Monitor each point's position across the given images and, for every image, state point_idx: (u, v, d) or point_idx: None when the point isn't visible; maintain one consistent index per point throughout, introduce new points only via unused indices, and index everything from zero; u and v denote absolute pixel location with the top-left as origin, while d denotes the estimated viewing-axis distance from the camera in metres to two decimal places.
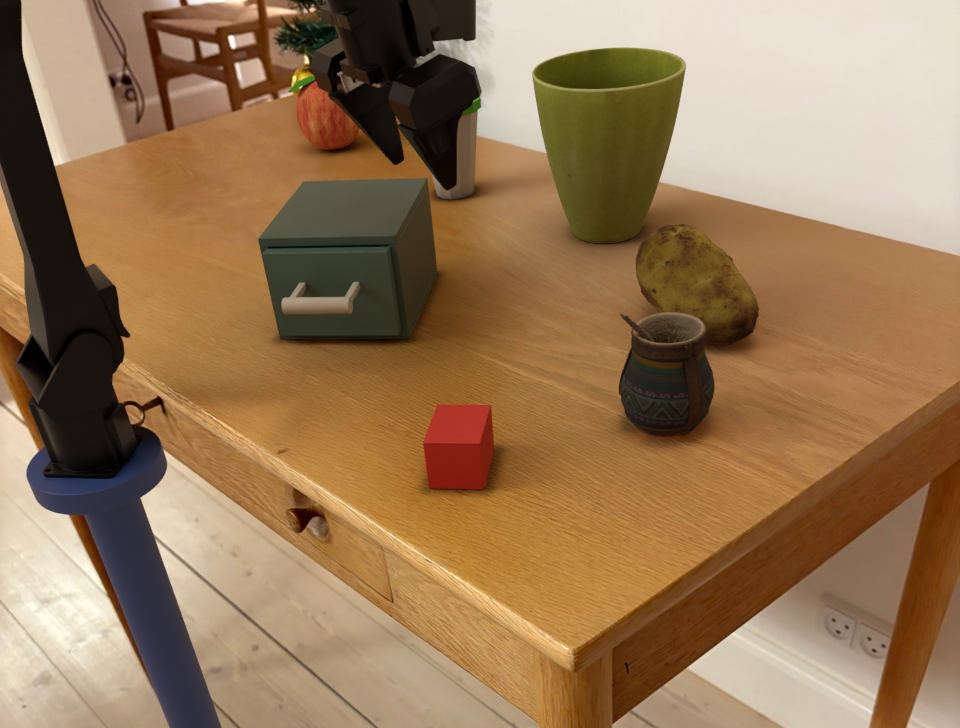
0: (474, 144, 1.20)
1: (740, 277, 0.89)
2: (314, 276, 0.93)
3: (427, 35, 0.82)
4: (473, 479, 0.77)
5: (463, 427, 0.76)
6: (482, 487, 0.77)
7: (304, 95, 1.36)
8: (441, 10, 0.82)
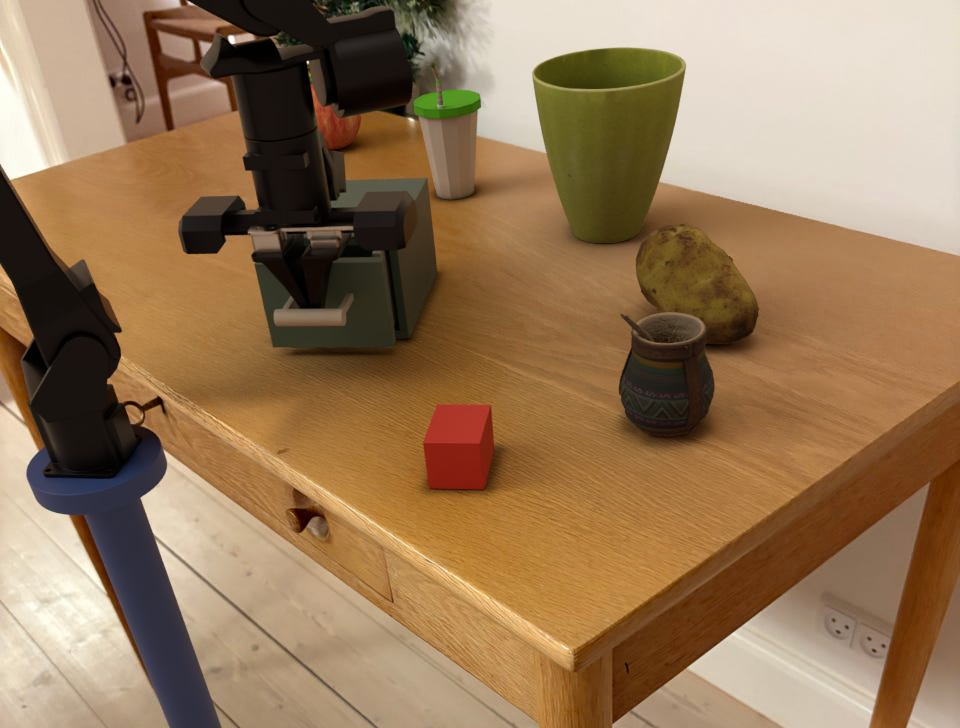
0: (474, 144, 1.20)
1: (740, 277, 0.89)
2: None
3: (337, 181, 0.85)
4: (473, 479, 0.77)
5: (463, 427, 0.76)
6: (482, 487, 0.77)
7: None
8: (335, 161, 0.86)
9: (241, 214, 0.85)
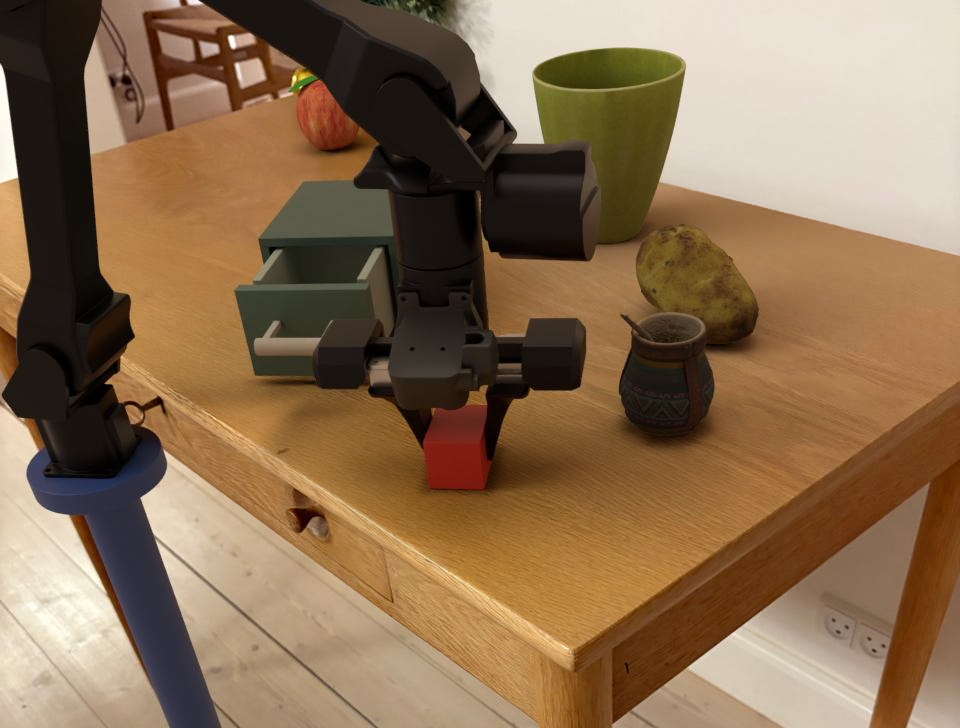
0: None
1: (740, 277, 0.89)
2: (289, 314, 0.87)
3: None
4: (473, 479, 0.77)
5: (463, 427, 0.76)
6: (482, 487, 0.77)
7: (304, 95, 1.36)
8: None
9: (513, 337, 0.72)
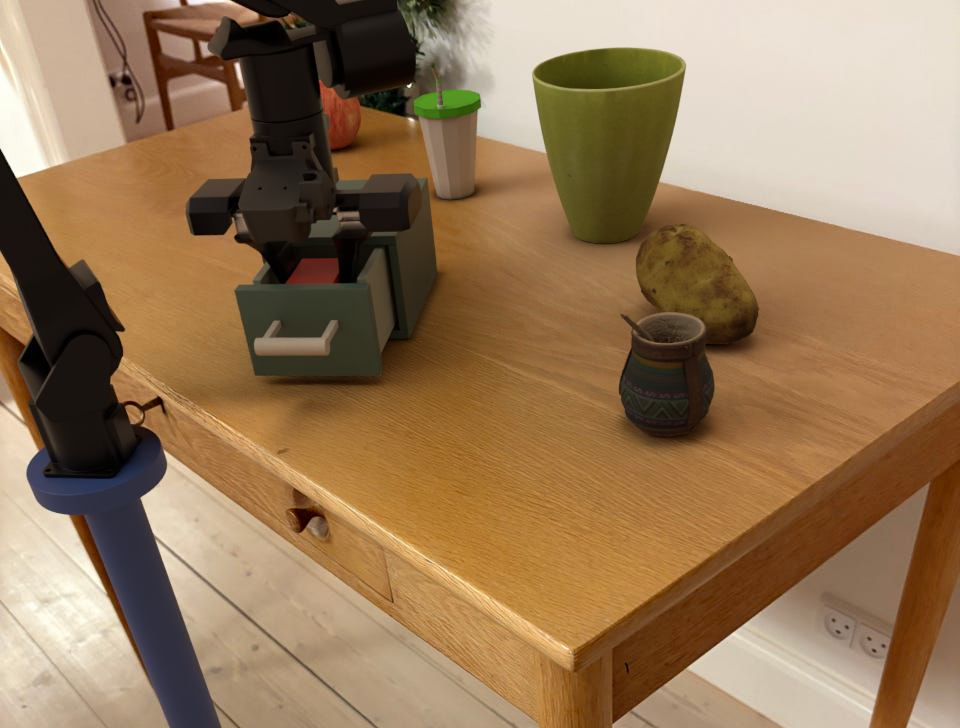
0: (474, 144, 1.20)
1: (740, 277, 0.89)
2: (289, 314, 0.87)
3: None
4: None
5: (320, 273, 0.89)
6: None
7: None
8: None
9: (356, 189, 0.85)
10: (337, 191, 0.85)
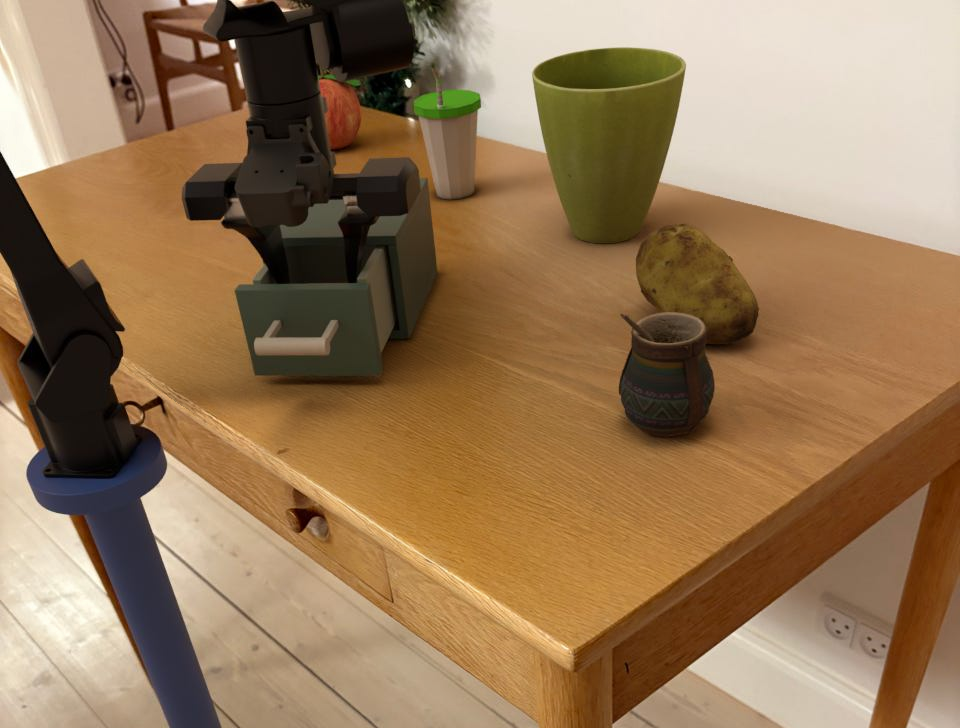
0: (474, 144, 1.20)
1: (740, 277, 0.89)
2: (290, 314, 0.87)
3: None
4: None
5: None
6: None
7: None
8: None
9: (354, 174, 0.84)
10: (334, 175, 0.84)
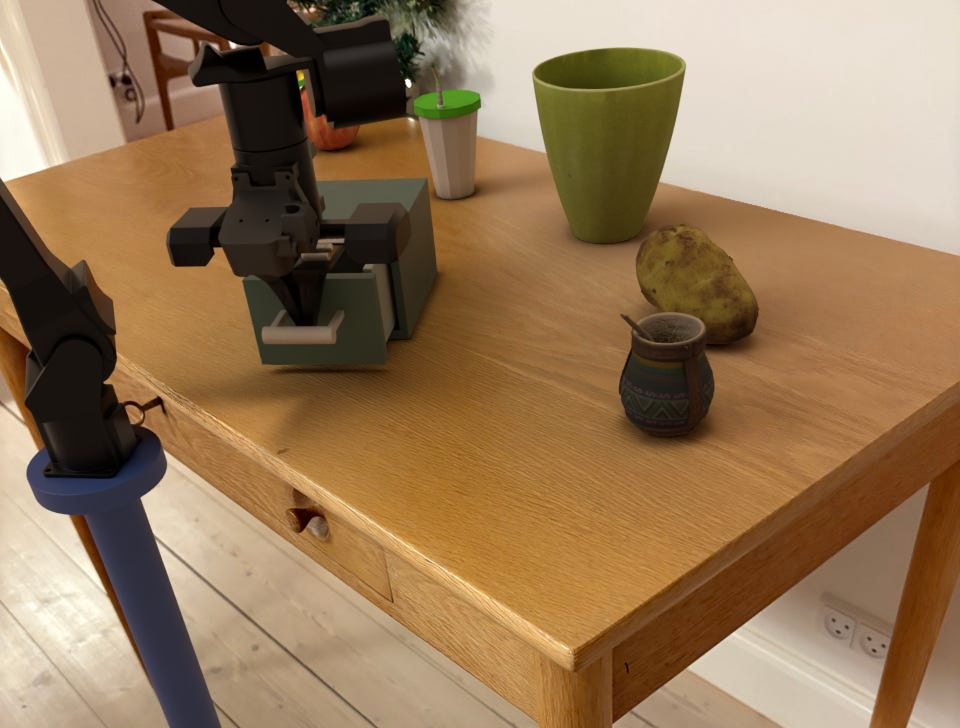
0: (474, 144, 1.20)
1: (740, 277, 0.89)
2: None
3: None
4: None
5: None
6: None
7: (304, 95, 1.36)
8: None
9: (343, 219, 0.82)
10: (323, 221, 0.82)
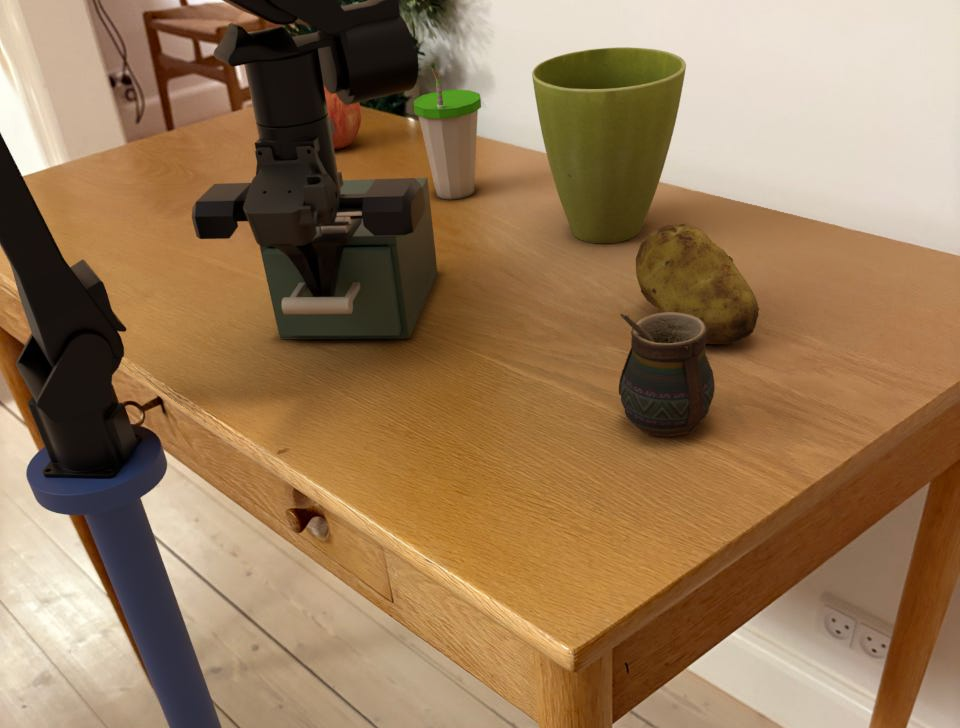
0: (474, 144, 1.20)
1: (740, 277, 0.89)
2: None
3: None
4: None
5: None
6: None
7: None
8: None
9: (360, 194, 0.86)
10: (341, 195, 0.86)
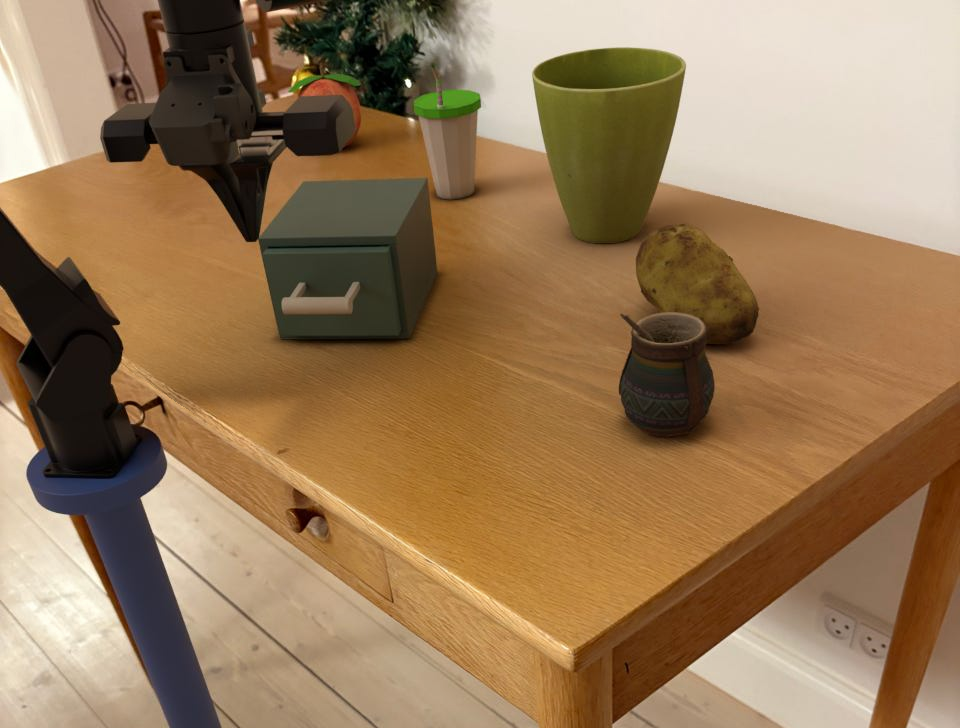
0: (474, 144, 1.20)
1: (740, 277, 0.89)
2: (314, 276, 0.93)
3: None
4: None
5: None
6: None
7: (304, 95, 1.36)
8: None
9: (283, 112, 0.79)
10: (262, 114, 0.79)
